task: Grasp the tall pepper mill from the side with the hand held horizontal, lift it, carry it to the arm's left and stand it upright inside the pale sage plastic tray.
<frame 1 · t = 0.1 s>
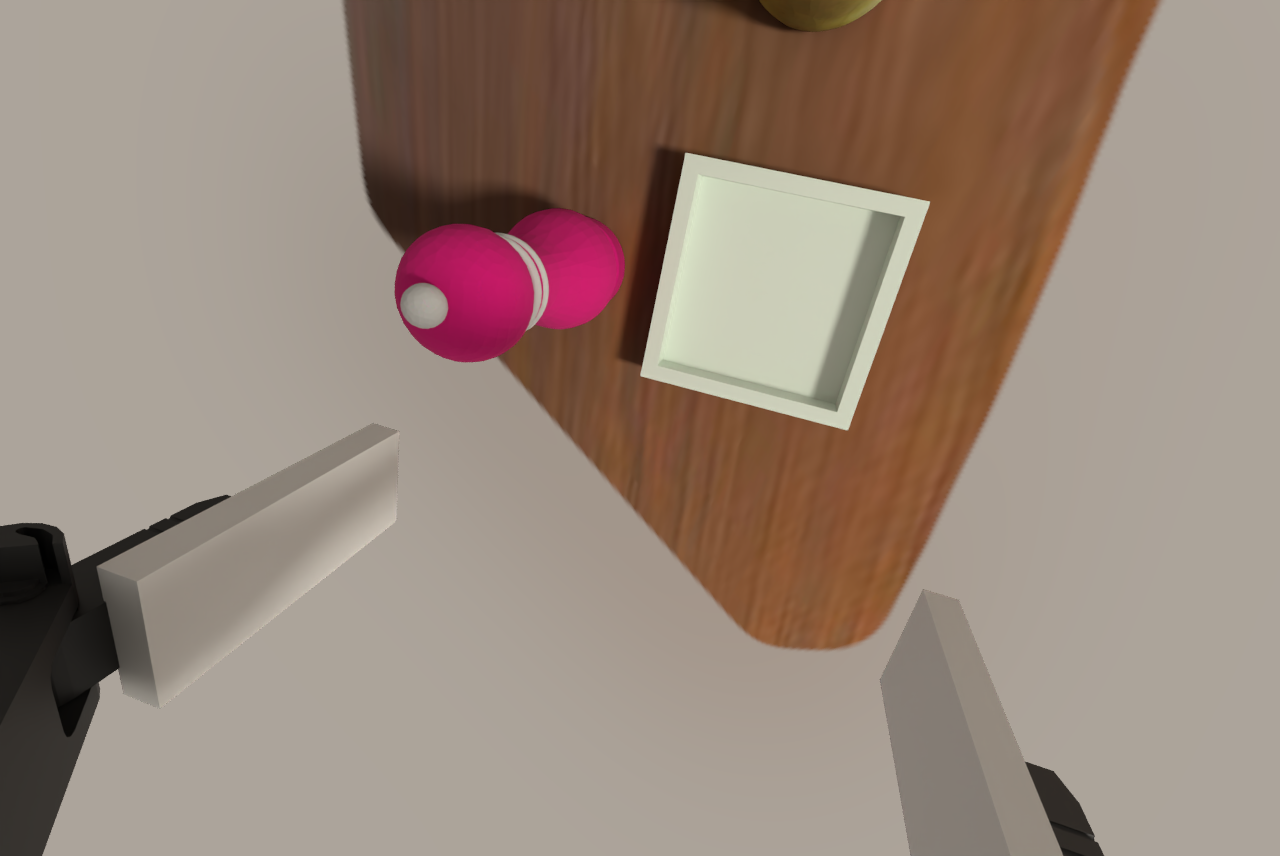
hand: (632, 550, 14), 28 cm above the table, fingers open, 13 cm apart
tray: (771, 292, 38), on the table
pepper mill: (582, 263, 41), on the table
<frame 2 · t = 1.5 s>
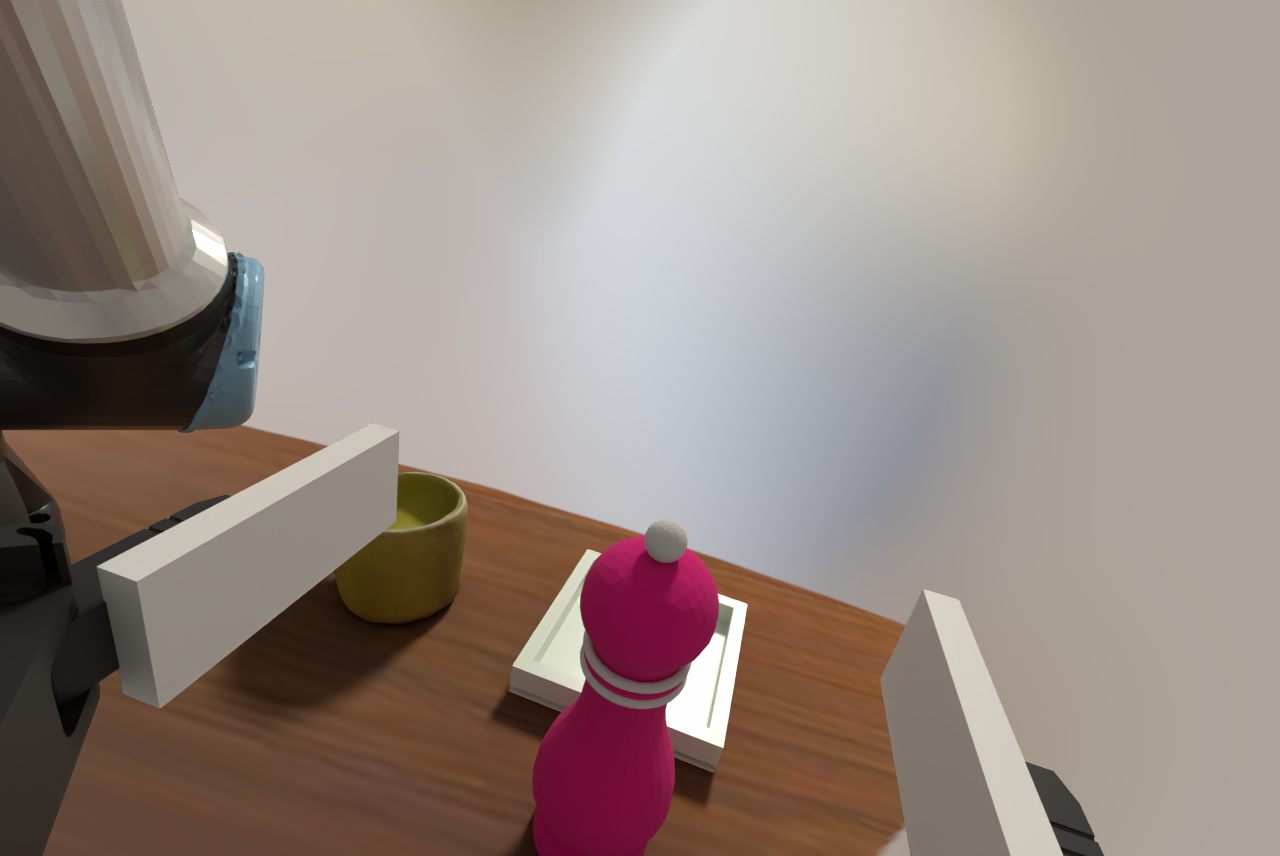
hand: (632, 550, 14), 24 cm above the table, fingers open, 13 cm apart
tray: (637, 654, 44), on the table
pepper mill: (589, 829, 32), on the table
mug: (394, 576, 46), on the table
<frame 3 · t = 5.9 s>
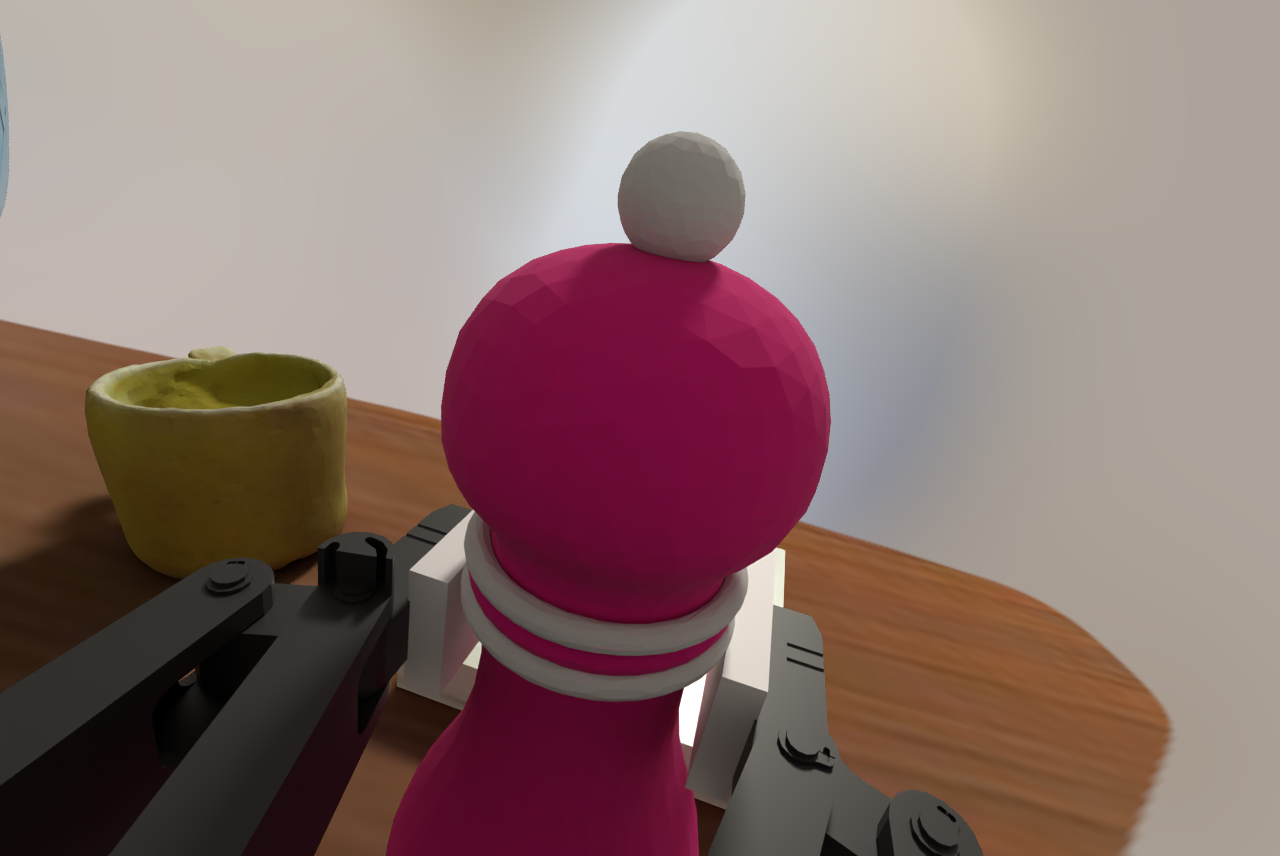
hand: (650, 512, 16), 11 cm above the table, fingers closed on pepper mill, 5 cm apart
tray: (621, 625, 28), on the table
mug: (241, 516, 30), on the table
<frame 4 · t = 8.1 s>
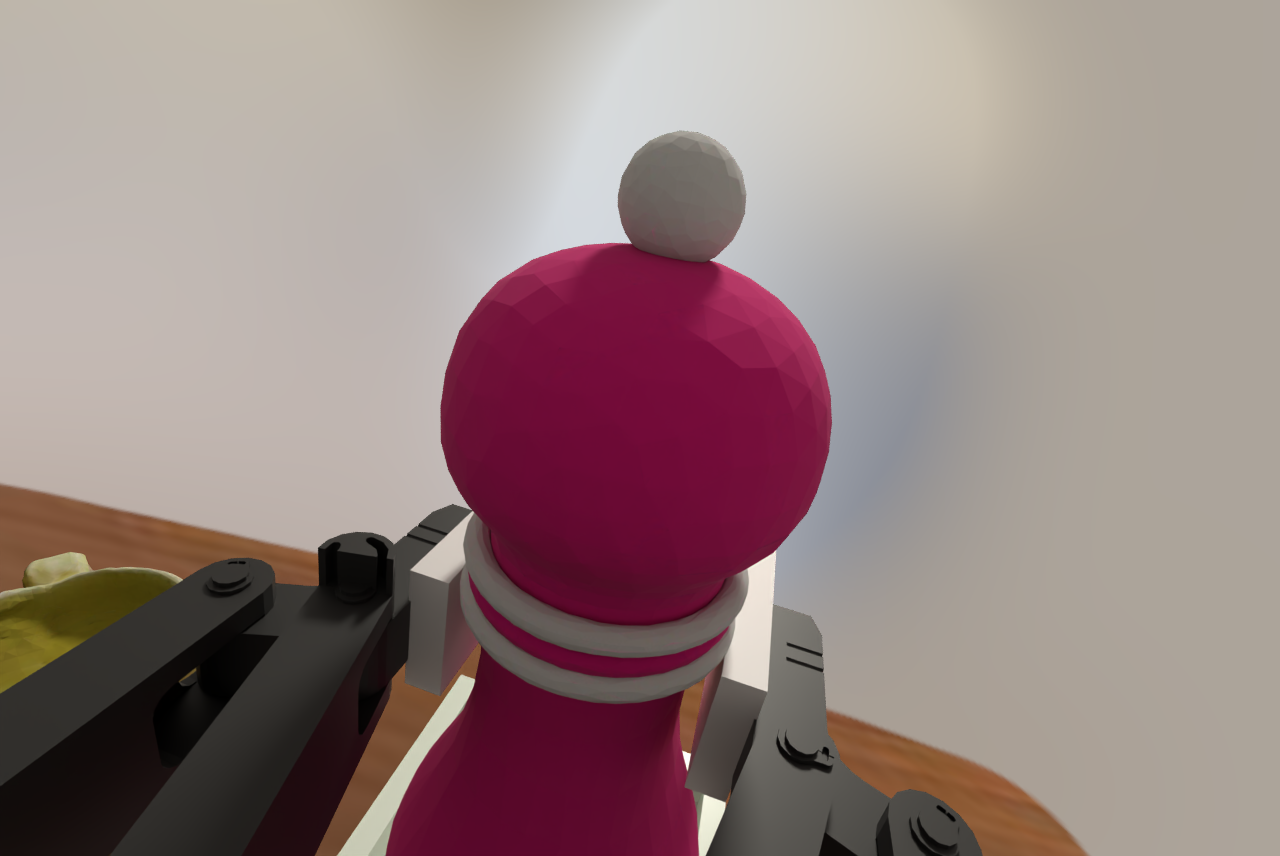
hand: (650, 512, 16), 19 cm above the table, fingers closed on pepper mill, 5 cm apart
mug: (90, 758, 26), on the table
when the fingers open (13 cm above the table, at t = 9.9 s): pepper mill drops 1 cm, resting on tray.
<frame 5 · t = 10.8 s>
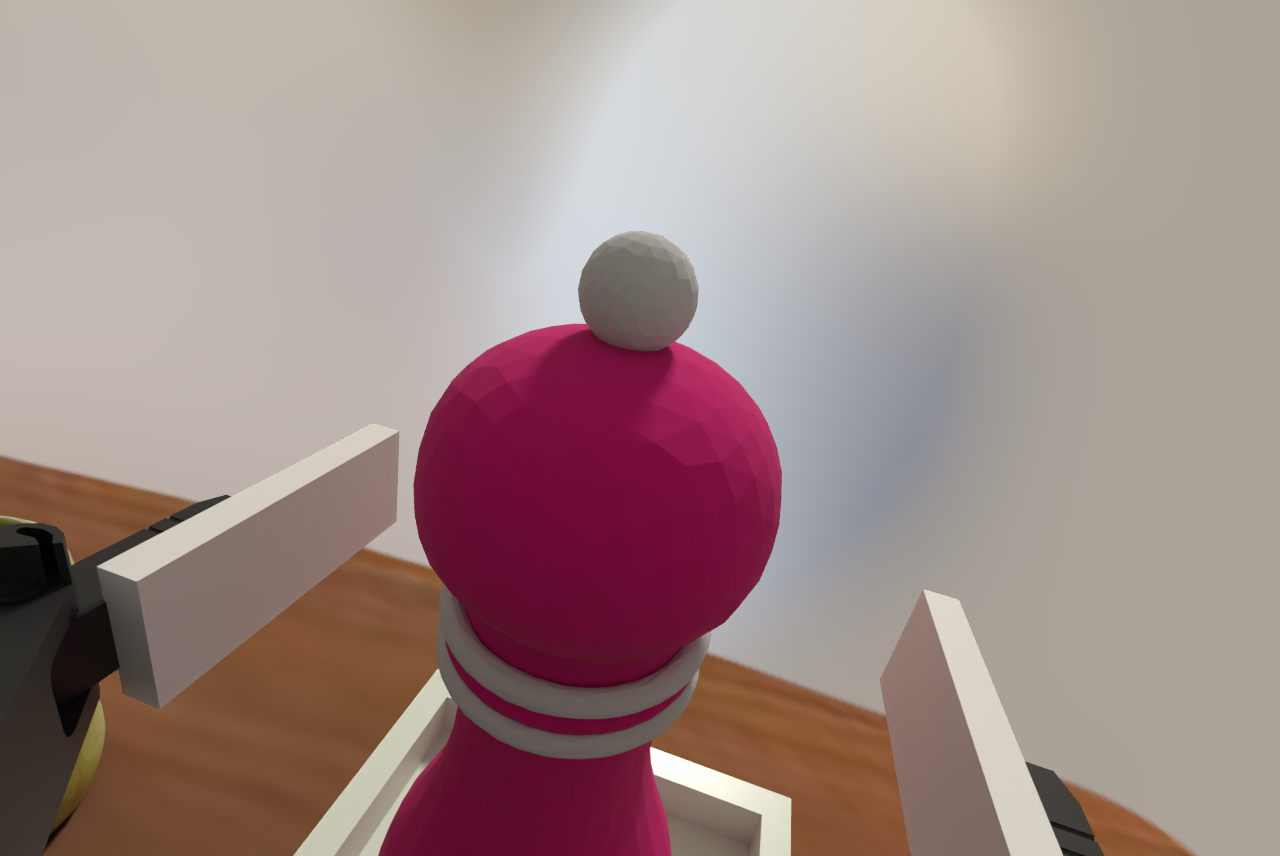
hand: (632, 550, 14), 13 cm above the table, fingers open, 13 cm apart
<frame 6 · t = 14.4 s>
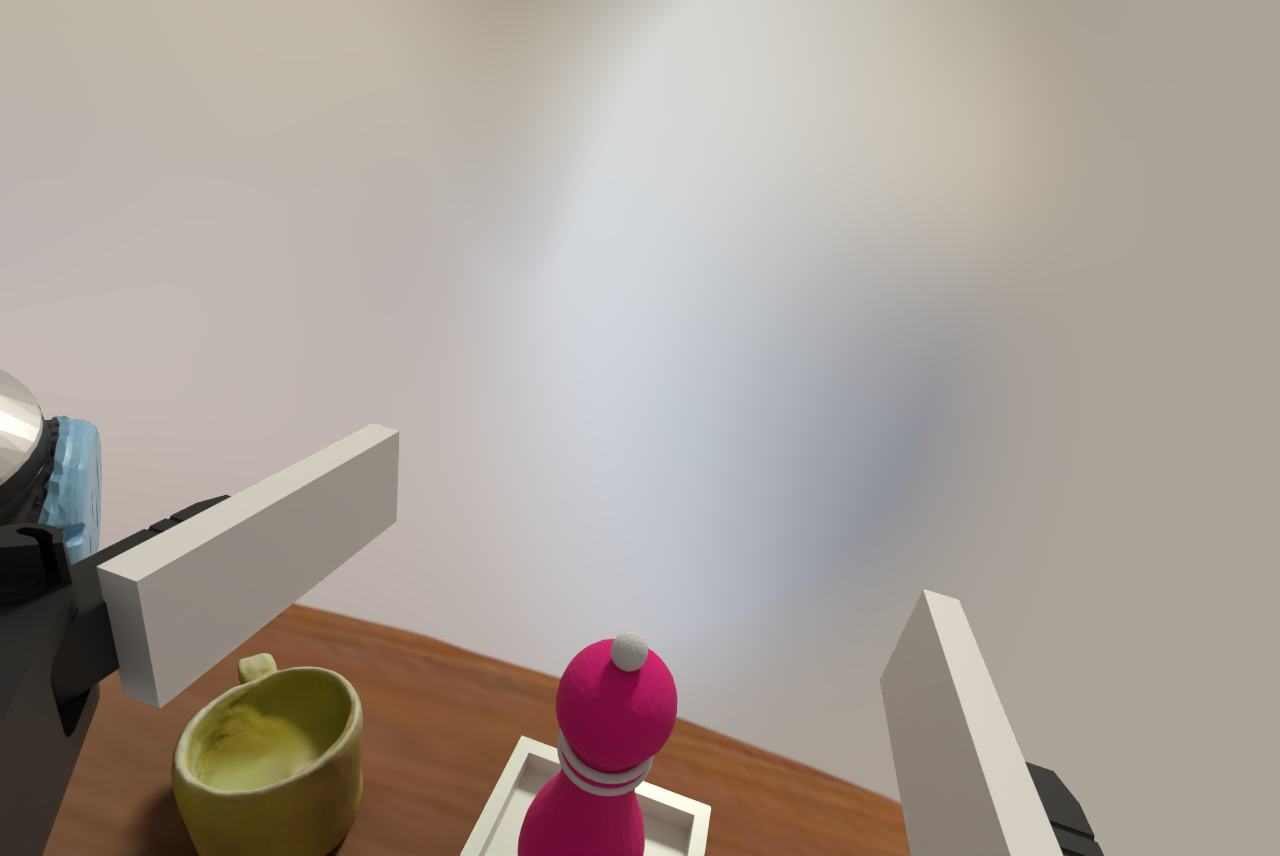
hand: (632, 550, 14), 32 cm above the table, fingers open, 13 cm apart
mug: (279, 794, 38), on the table
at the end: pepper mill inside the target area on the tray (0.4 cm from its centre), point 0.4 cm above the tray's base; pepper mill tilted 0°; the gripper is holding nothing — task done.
